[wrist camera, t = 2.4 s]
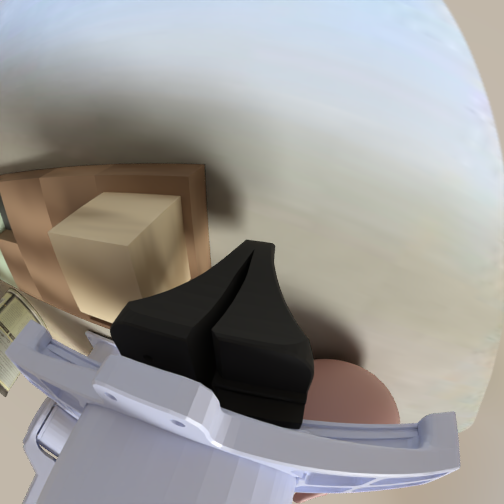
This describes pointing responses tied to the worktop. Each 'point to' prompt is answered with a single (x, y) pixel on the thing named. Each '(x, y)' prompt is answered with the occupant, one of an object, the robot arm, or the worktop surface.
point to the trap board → (74, 197)
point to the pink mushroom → (346, 400)
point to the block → (121, 250)
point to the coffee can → (12, 333)
